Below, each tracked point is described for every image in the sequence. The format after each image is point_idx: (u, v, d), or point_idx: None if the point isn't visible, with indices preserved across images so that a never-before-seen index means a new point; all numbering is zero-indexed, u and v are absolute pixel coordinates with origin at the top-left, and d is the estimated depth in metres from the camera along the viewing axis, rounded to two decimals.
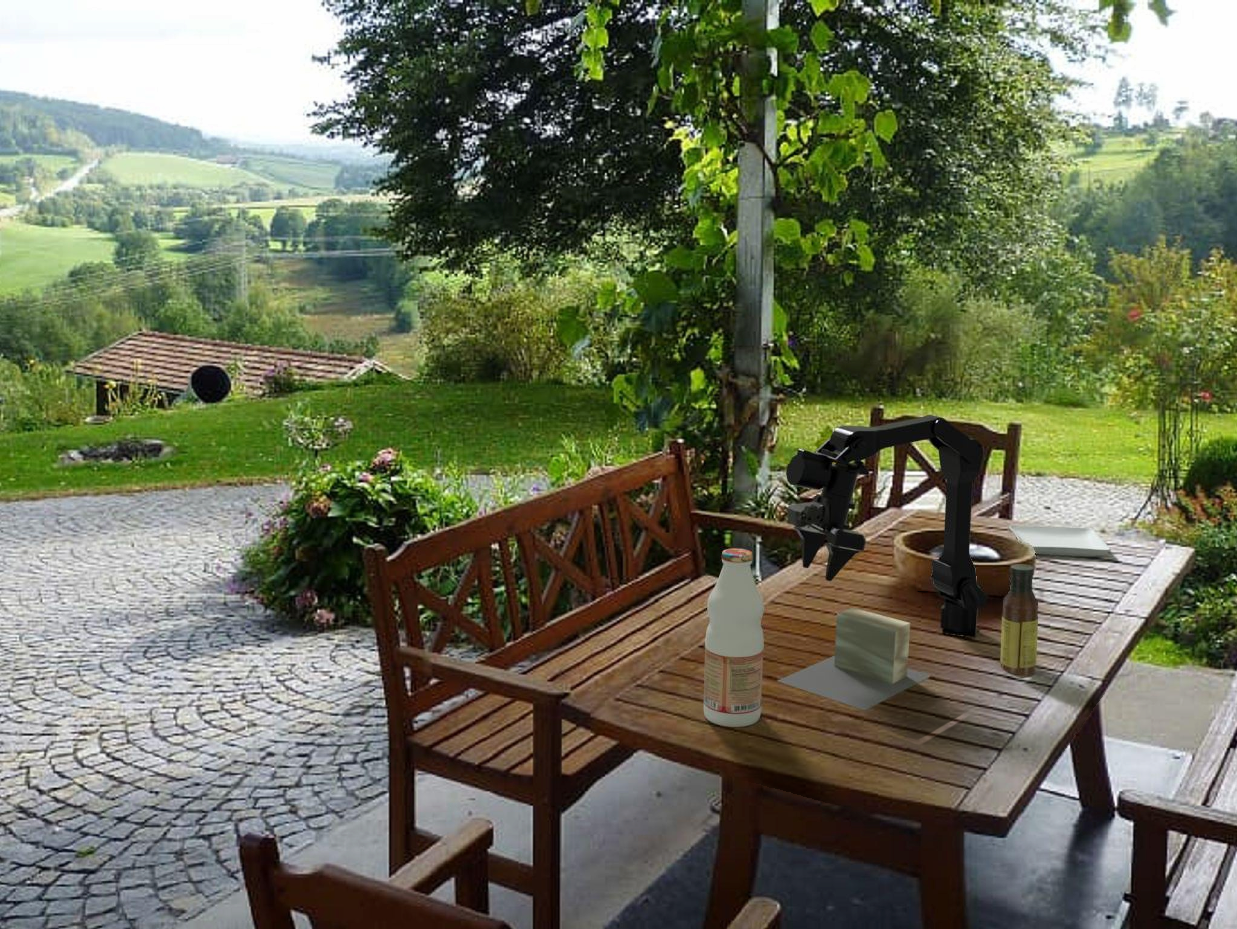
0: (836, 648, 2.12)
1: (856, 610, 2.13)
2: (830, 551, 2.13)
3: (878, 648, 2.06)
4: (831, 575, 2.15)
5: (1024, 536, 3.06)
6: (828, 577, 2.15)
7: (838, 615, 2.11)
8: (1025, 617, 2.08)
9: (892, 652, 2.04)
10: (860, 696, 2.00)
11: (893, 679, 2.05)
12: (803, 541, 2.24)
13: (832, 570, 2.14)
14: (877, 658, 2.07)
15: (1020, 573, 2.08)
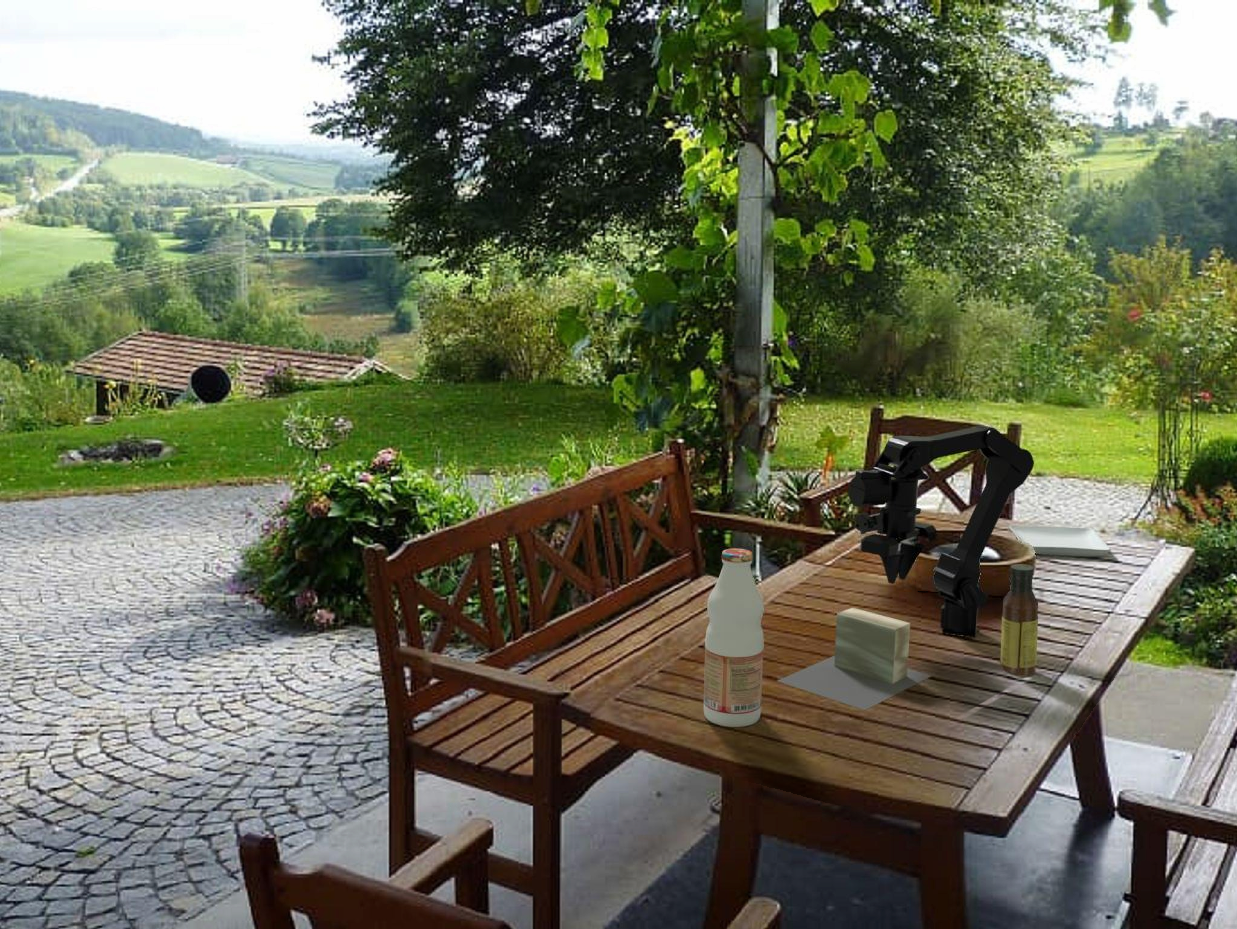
0: (836, 648, 2.12)
1: (856, 610, 2.13)
2: (880, 554, 2.25)
3: (878, 648, 2.06)
4: (891, 578, 2.25)
5: (1024, 536, 3.06)
6: (888, 580, 2.25)
7: (838, 615, 2.11)
8: (1025, 617, 2.08)
9: (892, 652, 2.04)
10: (860, 696, 2.00)
11: (893, 679, 2.05)
12: None
13: (889, 572, 2.25)
14: (877, 658, 2.07)
15: (1020, 573, 2.08)
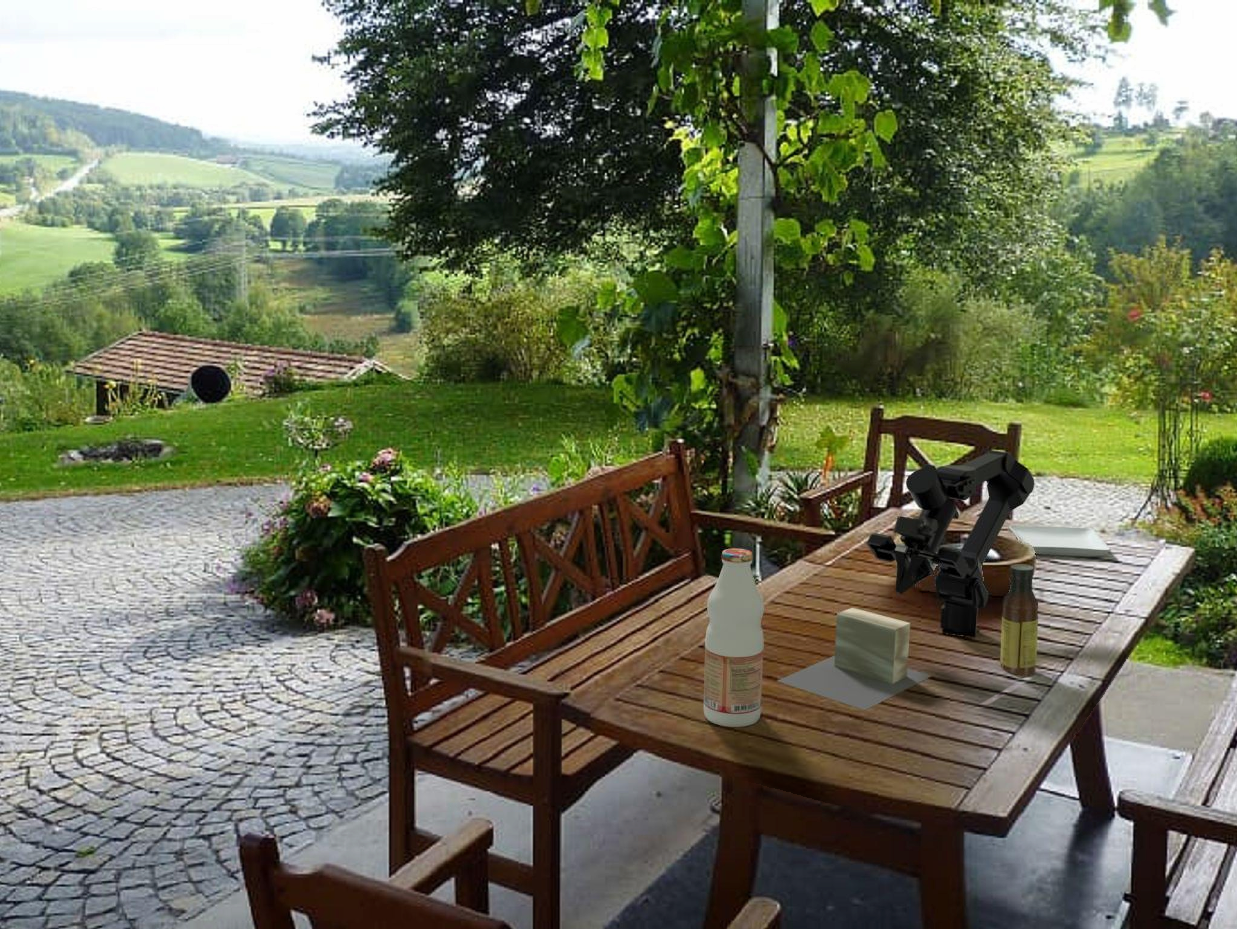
0: (836, 648, 2.12)
1: (856, 610, 2.13)
2: (914, 563, 2.14)
3: (878, 648, 2.06)
4: (904, 589, 2.14)
5: (1024, 536, 3.06)
6: (901, 589, 2.14)
7: (838, 615, 2.11)
8: (1025, 617, 2.08)
9: (892, 652, 2.04)
10: (860, 696, 2.00)
11: (893, 679, 2.05)
12: (901, 566, 2.16)
13: (906, 583, 2.14)
14: (877, 658, 2.07)
15: (1020, 573, 2.08)
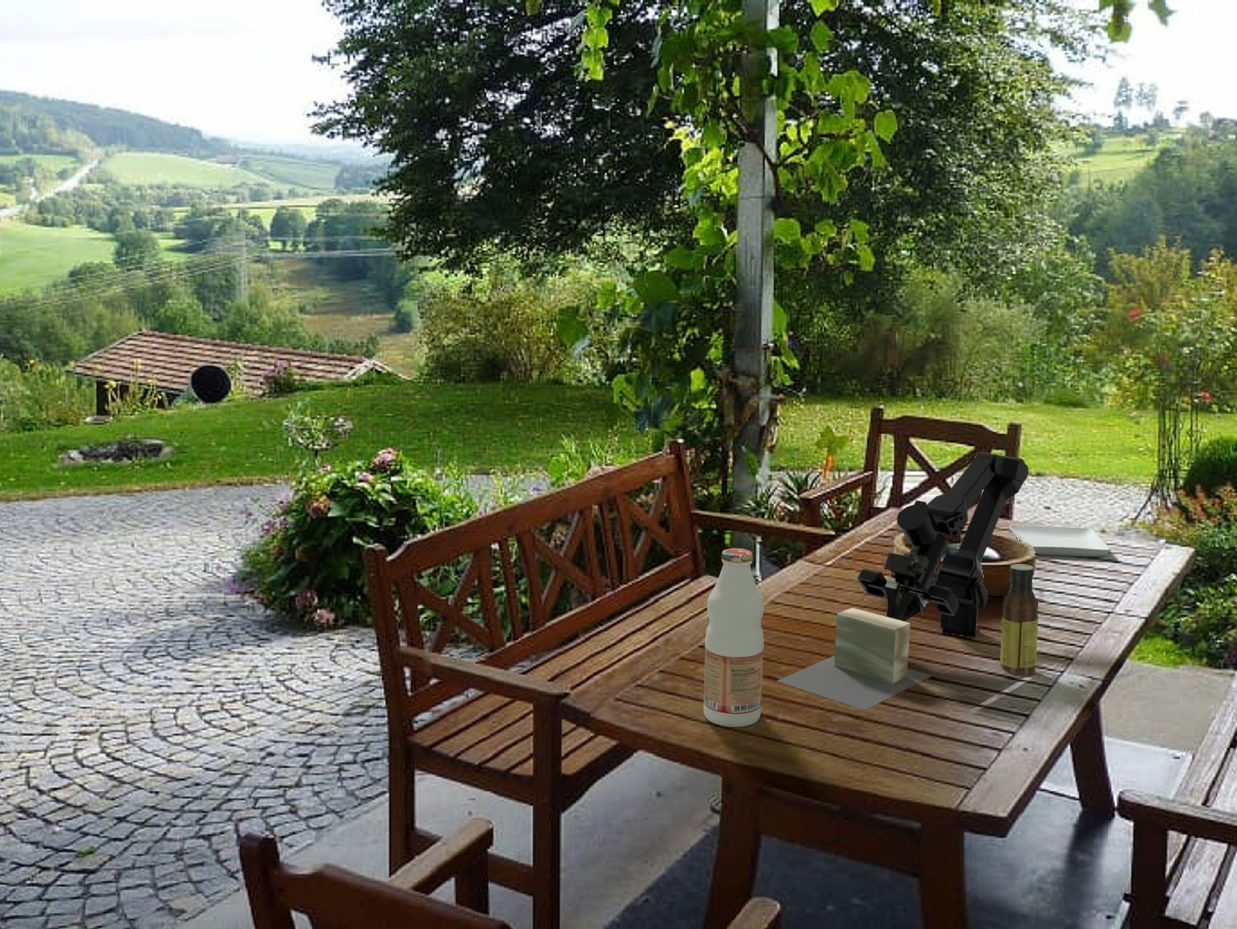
0: (836, 648, 2.12)
1: (856, 610, 2.13)
2: (905, 600, 2.13)
3: (878, 648, 2.06)
4: None
5: (1024, 536, 3.06)
6: None
7: (838, 615, 2.11)
8: (1025, 617, 2.08)
9: (892, 652, 2.04)
10: (860, 696, 2.00)
11: (893, 679, 2.05)
12: (892, 602, 2.15)
13: None
14: (877, 658, 2.07)
15: (1020, 573, 2.08)
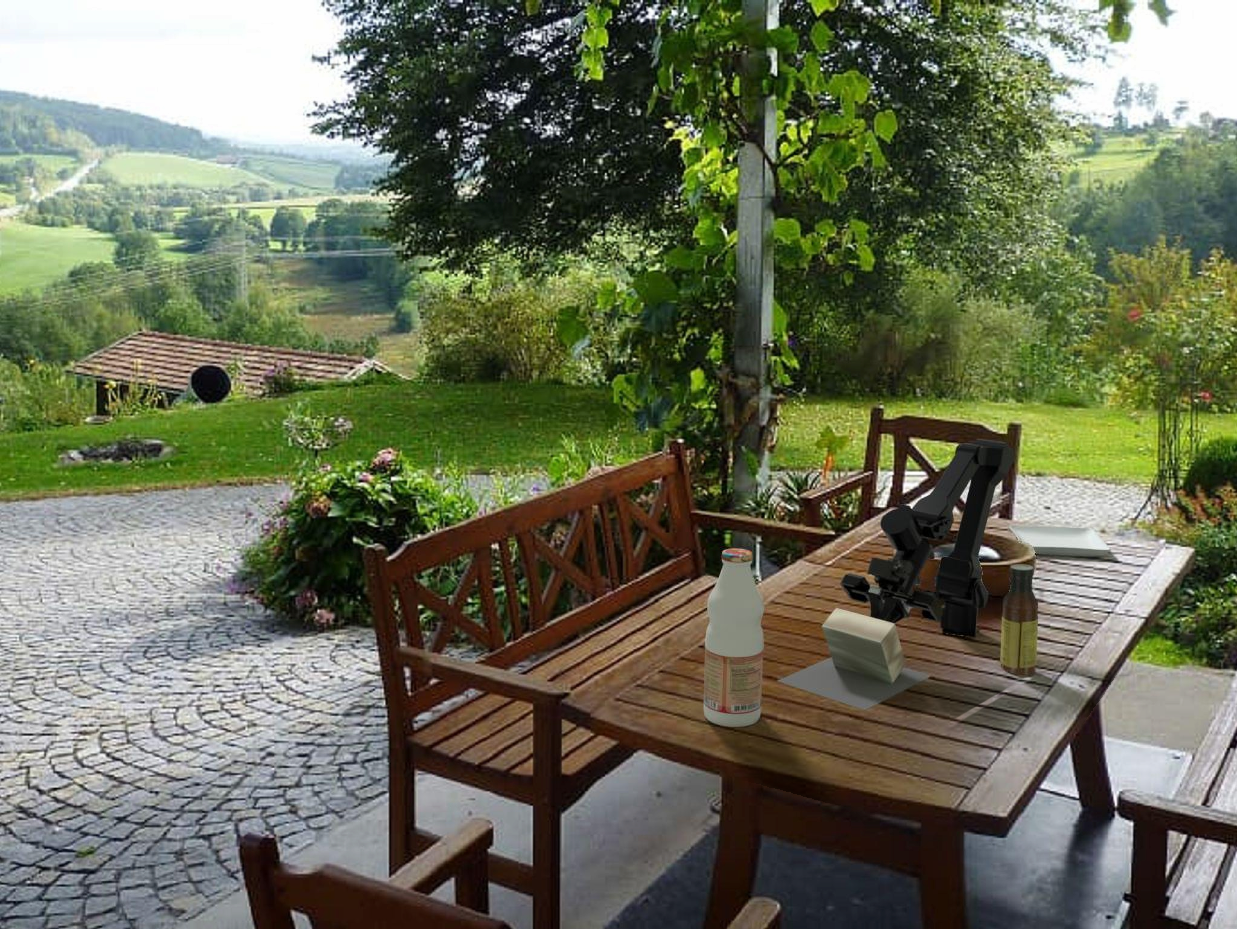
0: (831, 652, 2.11)
1: (840, 612, 2.10)
2: (888, 606, 2.09)
3: (870, 655, 2.04)
4: None
5: (1024, 536, 3.06)
6: None
7: (823, 627, 2.08)
8: (1025, 617, 2.08)
9: (884, 660, 2.03)
10: (860, 696, 2.00)
11: (892, 679, 2.05)
12: (875, 608, 2.11)
13: None
14: (871, 663, 2.05)
15: (1019, 573, 2.08)
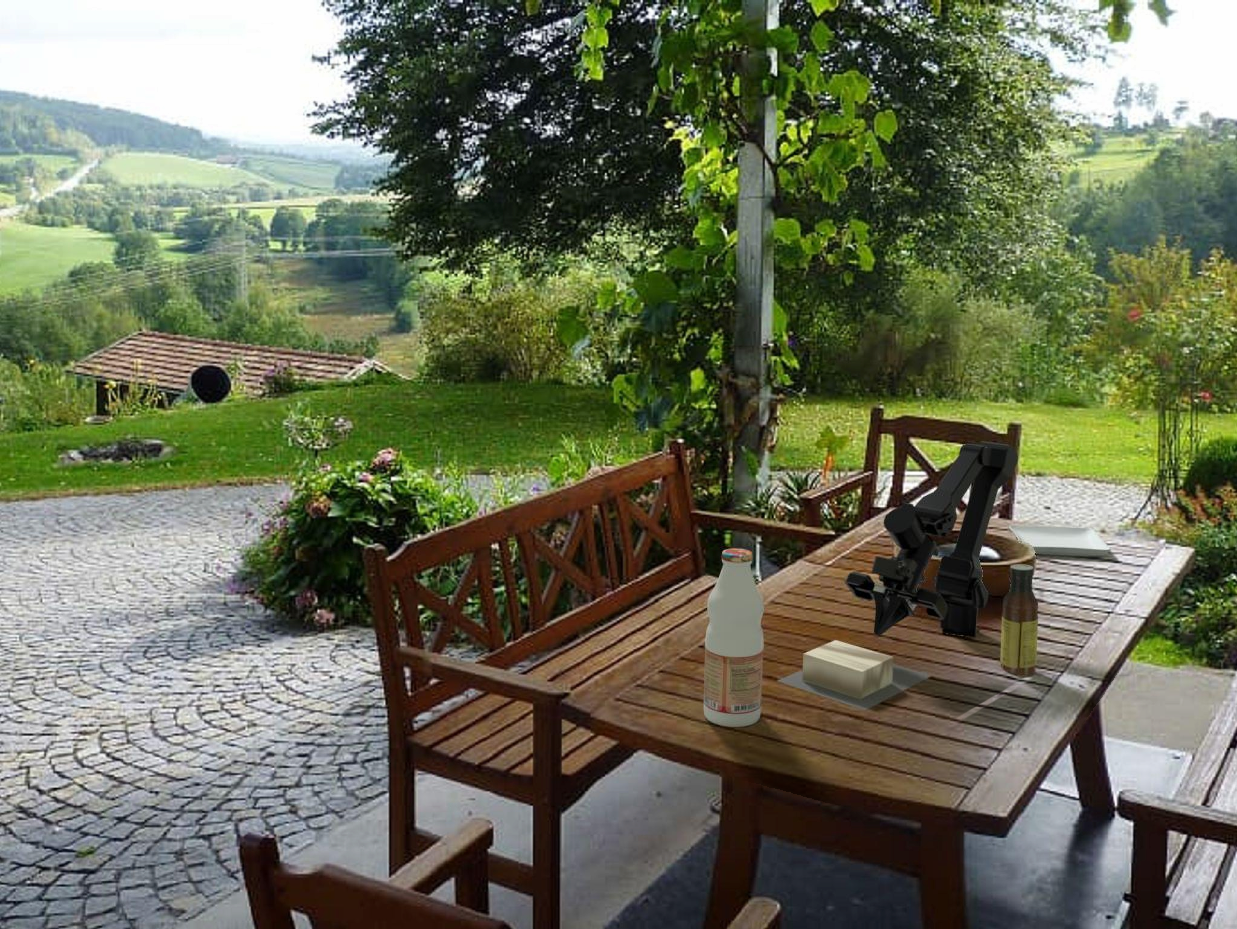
0: None
1: (810, 660, 2.04)
2: (893, 604, 2.10)
3: None
4: (882, 630, 2.11)
5: (1024, 536, 3.06)
6: (880, 631, 2.10)
7: (804, 680, 2.06)
8: (1025, 617, 2.08)
9: None
10: None
11: (889, 682, 2.05)
12: (880, 606, 2.12)
13: (885, 624, 2.11)
14: None
15: (1019, 573, 2.08)
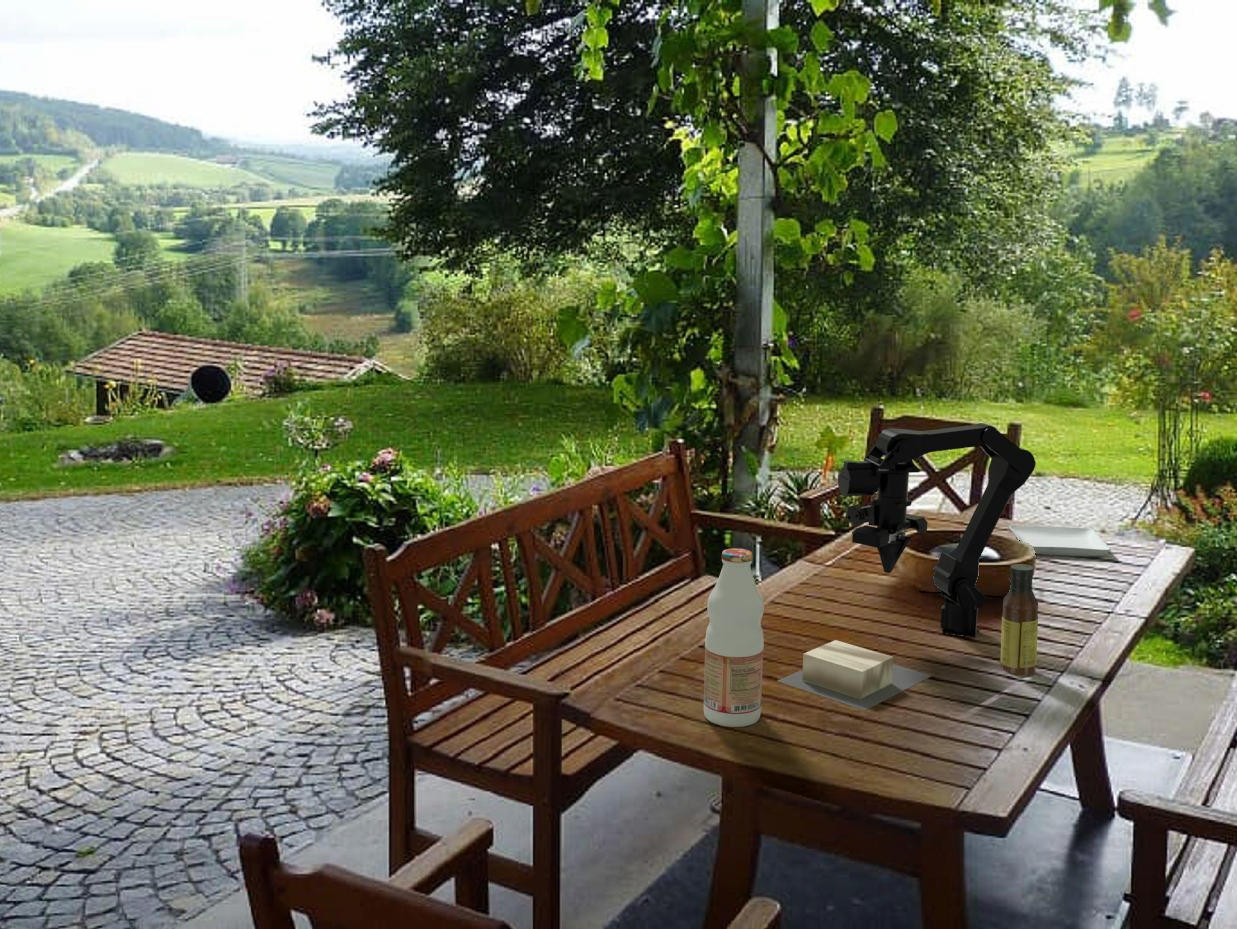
0: None
1: (810, 660, 2.04)
2: None
3: None
4: (887, 568, 2.28)
5: (1024, 536, 3.06)
6: (884, 569, 2.29)
7: (804, 680, 2.06)
8: (1025, 617, 2.08)
9: None
10: None
11: (889, 682, 2.05)
12: None
13: (885, 562, 2.28)
14: None
15: (1019, 573, 2.08)
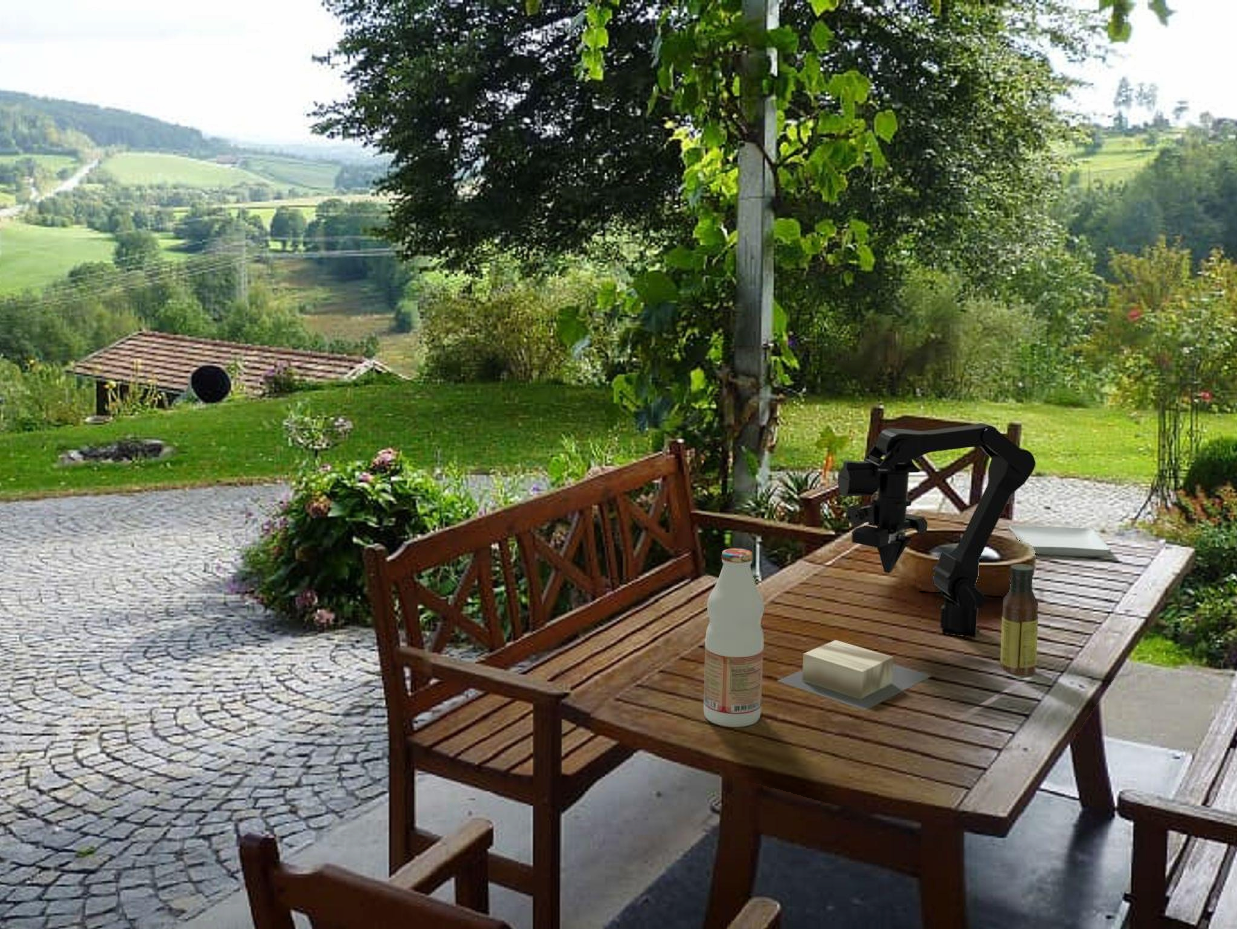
0: None
1: (810, 660, 2.04)
2: None
3: None
4: (887, 568, 2.28)
5: (1024, 536, 3.06)
6: (884, 569, 2.29)
7: (804, 680, 2.06)
8: (1025, 617, 2.08)
9: None
10: None
11: (889, 682, 2.05)
12: None
13: (885, 562, 2.28)
14: None
15: (1019, 573, 2.08)
